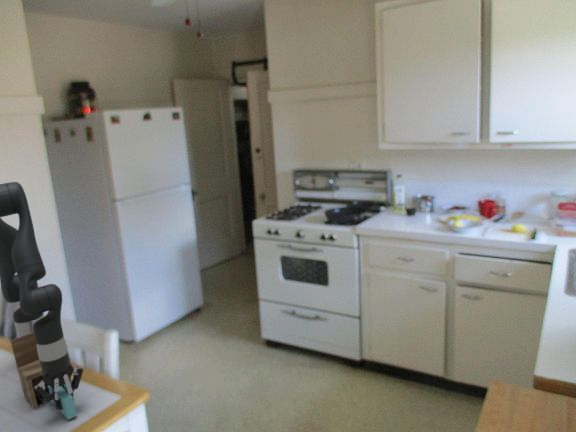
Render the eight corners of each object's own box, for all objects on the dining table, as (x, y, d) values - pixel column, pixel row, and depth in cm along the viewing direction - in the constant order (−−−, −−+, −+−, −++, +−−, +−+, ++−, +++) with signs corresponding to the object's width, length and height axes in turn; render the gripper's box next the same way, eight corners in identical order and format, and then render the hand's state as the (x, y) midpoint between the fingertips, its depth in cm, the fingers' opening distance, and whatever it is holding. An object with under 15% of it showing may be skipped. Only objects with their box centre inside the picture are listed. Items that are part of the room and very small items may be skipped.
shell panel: (52, 403, 149) (47, 385, 148) (60, 399, 151) (56, 381, 150) (68, 419, 139) (63, 400, 138) (77, 415, 141) (72, 396, 139)
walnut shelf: (24, 398, 153) (10, 340, 148) (63, 381, 161) (51, 325, 156) (33, 409, 147) (19, 349, 142) (74, 391, 155) (61, 333, 150)
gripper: (73, 339, 146) (84, 390, 150) (23, 359, 137) (36, 413, 141) (82, 347, 140) (93, 400, 145) (31, 368, 131) (45, 424, 136)
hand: (65, 406), depth 143 cm, fingers closed on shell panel, 2 cm apart
